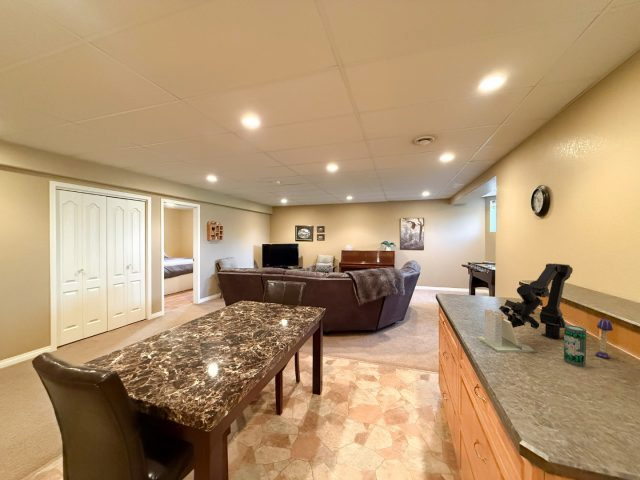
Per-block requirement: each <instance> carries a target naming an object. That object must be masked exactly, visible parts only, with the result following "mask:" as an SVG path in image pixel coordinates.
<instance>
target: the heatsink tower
mask: <svg viewBox="0 0 640 480" xmlns="http://www.w3.org/2000/svg"><path fill="white" fill-rule="evenodd" d="M483 313H484V315H483V318H484V319H483V320H484V321H483V322H484V326H483V327H484V328H483V330H484V331H483V336H484V340H486V341H488V342H489V343H491V344H492V345H494V346H495V347H502V316H503V317H504V315H503V314H502V313H500V312H497V311H493V310H492V309H484V310H483Z"/></svg>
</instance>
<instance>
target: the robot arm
mask: <svg viewBox="0 0 640 480" xmlns="http://www.w3.org/2000/svg"><path fill="white" fill-rule="evenodd" d="M573 271H574V270H573V267H572V266H571V265H570V264H564V263H545V268H544V269H543V271H542V272H541V274H540V275H539V276H538V278H537V279H536V280H533V281H531V282H530V283H524V285H523V284H522V285H520V286H518V287H517V288H516V293H517V294H518V296H520V298H521V299H522V301H521V302H519V301H512V300H509V299H506V301H505V303H504V305H501V306H499V308H498V309H499V311H501V313H503V314H504V315H505V317H507V319H506V320H508V321H510V322H511V324H512V327H513V329H514V328H518V327H523V326H524V327H526V323H527V324H529V325H530V327H531V328H532V329H535V330H537V329H538V328H539V327H540V324H544V325H545V328H544V330H545V331H544V333H541V336H544V337H548V338H551V339H554V340H560V339H564V336H562V335H561V329H565V325H567V323H566V320H565V319H564V317H563V312H562V310H561V307H560V305H561V301H562V297H563V292H564V286H565V282H566V281H567V280H568V279H570V278H571V274H573ZM550 284H551V285H550ZM549 286H550V289H549ZM547 296H548V299H547V304H546V305H545V306H544V304H543V300H542V299H540V298H546V297H547ZM540 306H542V307H541V309H540V312H539V320H540V323H539V321H537V320H536V319H535V318H534V317H533V316H531V315H535V313H536V312H534V311H536V309H538V308H539V307H540Z"/></svg>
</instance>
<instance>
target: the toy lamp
mask: <svg viewBox="0 0 640 480" xmlns="http://www.w3.org/2000/svg"><path fill="white" fill-rule="evenodd" d="M596 328H597V329H600V330H601V332H600V333H601V335H600V343H599V344H600V346H599V348H600V349H599V351H597V352H595V356H597V357H599V358H602V359H606V360H609V359H611V358H610V355H609V354H608V353H607V351H606V350H607V342H608V341H607V340H608V332H612V331H613V330H614V328H613V325H612V321H611V320H609V319H606V318H600V319H599V321H598V323H597V325H596Z"/></svg>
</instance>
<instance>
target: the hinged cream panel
mask: <svg viewBox="0 0 640 480" xmlns="http://www.w3.org/2000/svg"><path fill="white" fill-rule="evenodd" d="M502 338H503V339H505V340H507V341H508V342H510V343H512V344H514V345H515V346H517V347H519V346H520V345H519V343H518V341H519V340H518V338H517V335H516V333H515V330H514V328H513V327H512V324H511V322H510V321H508V320H507V319H505V316H504V315H503V316H502Z"/></svg>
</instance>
